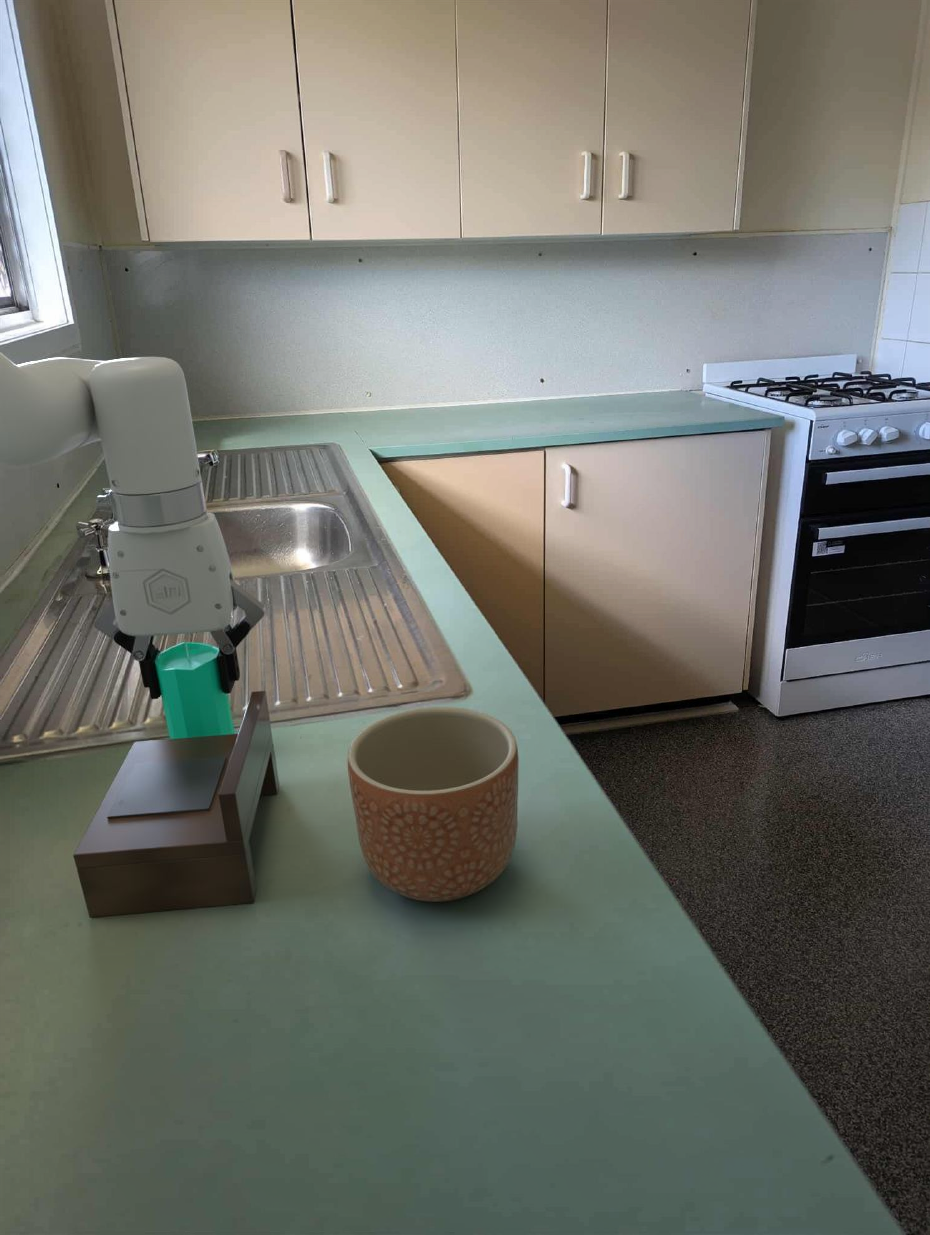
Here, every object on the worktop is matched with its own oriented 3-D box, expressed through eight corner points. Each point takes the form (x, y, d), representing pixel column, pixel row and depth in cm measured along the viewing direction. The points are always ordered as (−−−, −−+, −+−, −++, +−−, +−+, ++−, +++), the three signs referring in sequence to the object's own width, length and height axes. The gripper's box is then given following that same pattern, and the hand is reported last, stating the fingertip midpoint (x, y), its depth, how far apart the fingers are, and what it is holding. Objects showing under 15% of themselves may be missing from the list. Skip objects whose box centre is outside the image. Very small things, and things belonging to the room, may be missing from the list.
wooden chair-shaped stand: (89, 917, 64) (60, 807, 60) (145, 795, 79) (125, 701, 75) (254, 903, 65) (235, 793, 61) (279, 784, 80) (265, 690, 76)
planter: (461, 803, 75) (455, 690, 71) (554, 878, 66) (553, 752, 62) (332, 860, 69) (317, 739, 65) (414, 951, 59) (402, 817, 55)
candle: (170, 745, 87) (148, 634, 83) (231, 731, 89) (213, 622, 85) (177, 774, 82) (154, 658, 77) (241, 758, 84) (223, 644, 80)
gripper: (43, 523, 72) (89, 716, 79) (254, 510, 73) (281, 701, 80) (74, 501, 79) (113, 679, 86) (266, 488, 80) (290, 666, 87)
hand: (194, 688), depth 83 cm, fingers closed on candle, 5 cm apart
